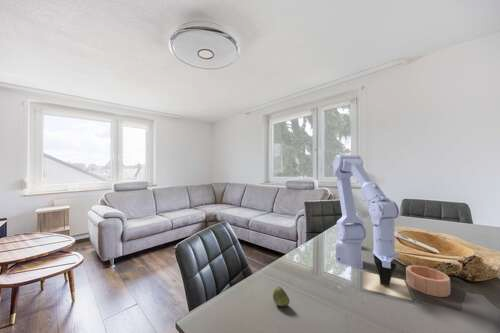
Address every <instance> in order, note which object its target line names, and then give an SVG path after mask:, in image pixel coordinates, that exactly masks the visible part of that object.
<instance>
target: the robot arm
mask: <svg viewBox="0 0 500 333" xmlns="http://www.w3.org/2000/svg"><path fill="white" fill-rule="evenodd" d="M332 169H333V175H334V176H335V178H336V183H337V190H338V197H339V202H340V203H339V204H340V209H341V215H342V216H341V217H340V218H339V219H337V221H336V232H337V233H336V237H337V236H338V238H339V239H338V238H336V241H335V264H339V265H343V266H347V267H353V268H359V269H363V268H364V261H363V259H362V258H363V257H362V254H363V253H362V244H363V243H364V240H365V239H367V230H366V228H365V225H364V222H363V219H361V218H360V217H358V216H357V212H356V207H355V202H354V201H355V200H354V196H353V191H352V190H353V189H352V183H351V178H352V177H353V176H354V178H355V179H356V181H357V182H358V183H359V185H360V186H361V188H360V193H361V194H362V196H363V198H364V199H365V201H366V202H367V204H368V206H369V208H368V209H367V210H368V214H369V215H370V218H371V219H370V220H371V224H372V225H373V227H372V228H373V229H372V230H373V231H372V232H373V233H372V234H373V235H372V236H373V237H372V238H373V239H372V242H373V249H372V254H373V261H374V264H375V266H376V268H377V272H378V275H379V276H380V281H381V283H382V284H386V285H389V284H390V280H391V277H392V276H393V273H394V271H395V270H396V268H397V264H396V263H394V262H395V259H396V258H398V259H399V258H400V257H401V256H400V253H397V252H396V250H395V249H396V247H395V245H396V241H395V240H396V239H395V238H396V236H395V235H396V234H395V232H396V231H395V230H396V229H395V219H397V218H398V217H399V215H400V209H399V206H398V204H397V203H396V202H395V201H394V200H391V199H390V198H388V197H387V196H386V194H385V193H384V192H383V191H382V189H381V187H380V186H379V185H378V183H377V182H373V181H372V180H371V179H370V177H369V175H368V174H367V172H366V170H365V168H364V160H363V159H362V157H361V155H360V154H336V155H335V156H334V158H333V160H332Z"/></svg>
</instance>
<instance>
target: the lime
mask: <svg viewBox="0 0 500 333" xmlns="http://www.w3.org/2000/svg"><path fill="white" fill-rule="evenodd" d="M272 300H273V302H274V303H275V304H276V305H278V306H280V307H287V306H288V305H289V304H290V298H289V296H288V294H287V293H286V291H285V290H284V289H283V288H282V286H280V285H277V286H276V287H275V288H274V289H273V291H272Z"/></svg>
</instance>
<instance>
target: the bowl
mask: <svg viewBox="0 0 500 333" xmlns="http://www.w3.org/2000/svg"><path fill="white" fill-rule="evenodd" d="M405 276H406V277H405V279H406V280H405V281H407V283H408V285H409V286H410V288H411V289H414V290H416V291H417V292H420V293H423V294H426V295H427V296H428V295H429V296H434V297H439V298H440V297H441V298H442V297H449V296H450V295H451V278H450V277H449V276H448V274H446V273H445V272H443V271H441V270H439V269H436V268H431V267H429V266H426V265H425V266H424V265H418V264H415V265H414V264H411V265H408V266H406V267H405Z"/></svg>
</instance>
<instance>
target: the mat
mask: <svg viewBox="0 0 500 333" xmlns="http://www.w3.org/2000/svg"><path fill="white" fill-rule="evenodd" d="M363 272H364V271H360V270H359V292H361V293H365V294H368V295H369V294H370V295H372V296H378V297H382V298H385V299H389V300H393V301H397V302H401V303H406V304H410V305H414V306H418V302H417V299H416V298H415V295H414V293H413V290H412V287H411V286H409V285H408V283H407V281H406V280H405V283H406V285H407V288H408V290H409V293H410V295H411V298H412V302H409V301H405V300H401V299H397V298H393V297H388V296H384V295H380V294H376V293H372V292H368V291H364V290H363Z"/></svg>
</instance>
